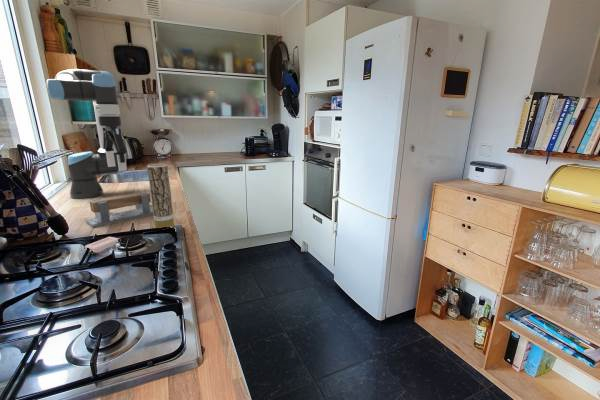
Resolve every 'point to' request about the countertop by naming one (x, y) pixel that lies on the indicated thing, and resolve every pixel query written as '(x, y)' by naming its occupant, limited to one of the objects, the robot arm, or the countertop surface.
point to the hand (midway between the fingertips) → (117, 168)
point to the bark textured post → (160, 195)
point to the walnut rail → (119, 201)
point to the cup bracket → (120, 213)
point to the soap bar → (102, 244)
